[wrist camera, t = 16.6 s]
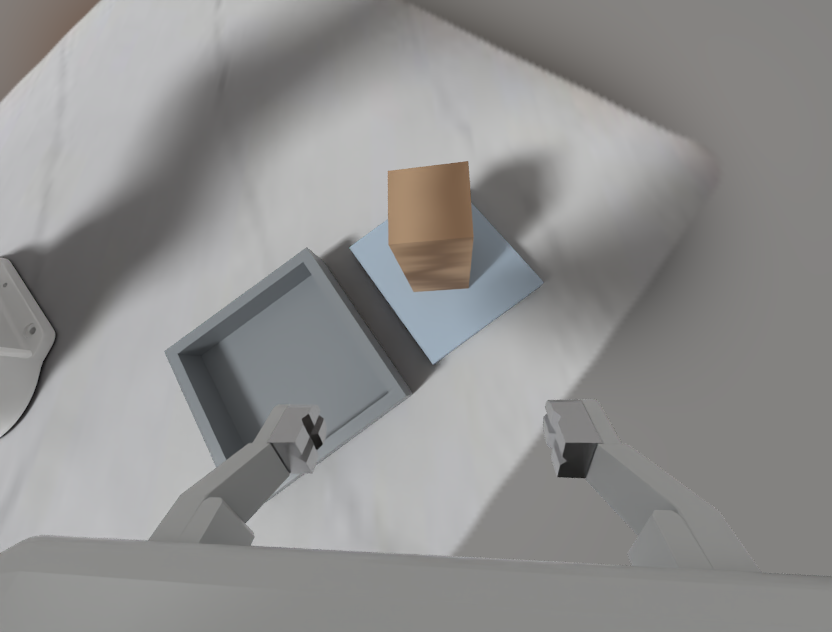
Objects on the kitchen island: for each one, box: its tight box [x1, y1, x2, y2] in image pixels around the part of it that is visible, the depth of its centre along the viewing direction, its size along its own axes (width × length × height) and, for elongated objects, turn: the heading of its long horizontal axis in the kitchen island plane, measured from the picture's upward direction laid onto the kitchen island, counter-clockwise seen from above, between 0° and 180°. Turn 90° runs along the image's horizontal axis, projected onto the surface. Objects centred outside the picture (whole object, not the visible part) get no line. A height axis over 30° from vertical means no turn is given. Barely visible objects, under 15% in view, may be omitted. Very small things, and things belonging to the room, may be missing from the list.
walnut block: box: [388, 161, 474, 292], centre depth 23 cm, size 5×5×10 cm
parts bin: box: [164, 248, 413, 502], centre depth 27 cm, size 16×16×4 cm
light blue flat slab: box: [349, 203, 544, 365], centre depth 28 cm, size 14×12×1 cm
